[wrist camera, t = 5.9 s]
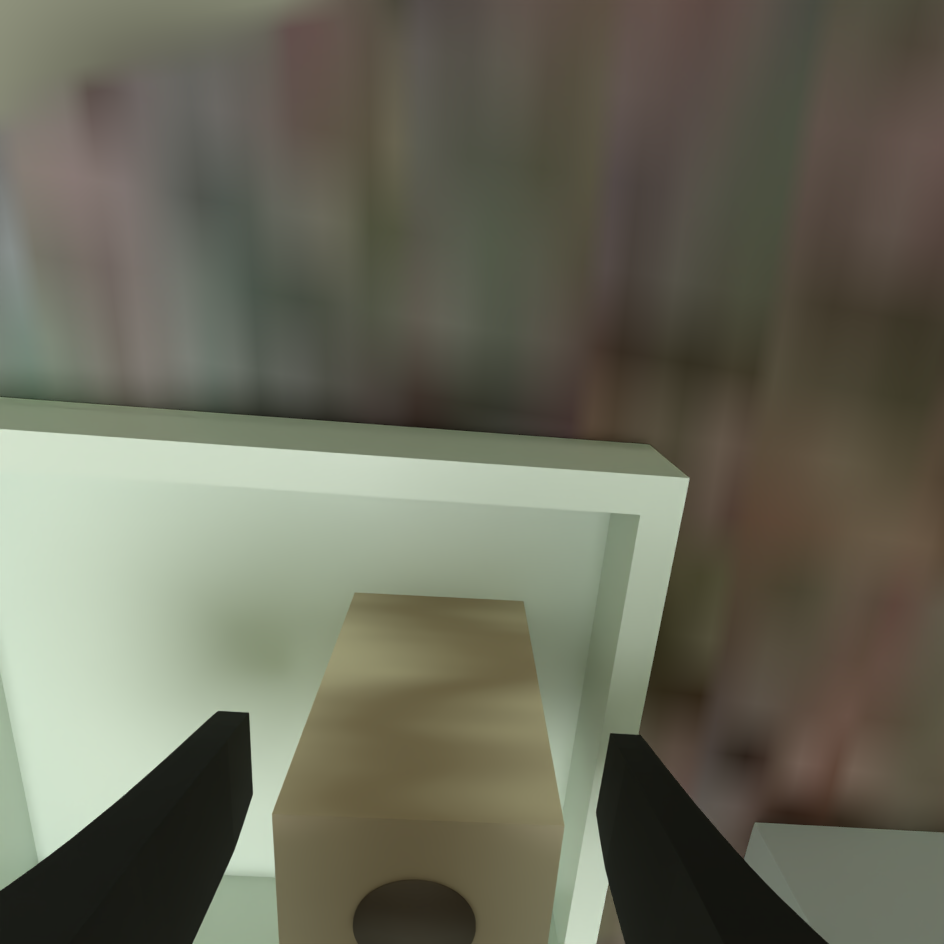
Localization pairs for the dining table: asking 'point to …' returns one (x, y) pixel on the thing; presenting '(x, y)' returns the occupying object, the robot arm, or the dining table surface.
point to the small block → (421, 783)
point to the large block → (855, 880)
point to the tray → (299, 603)
